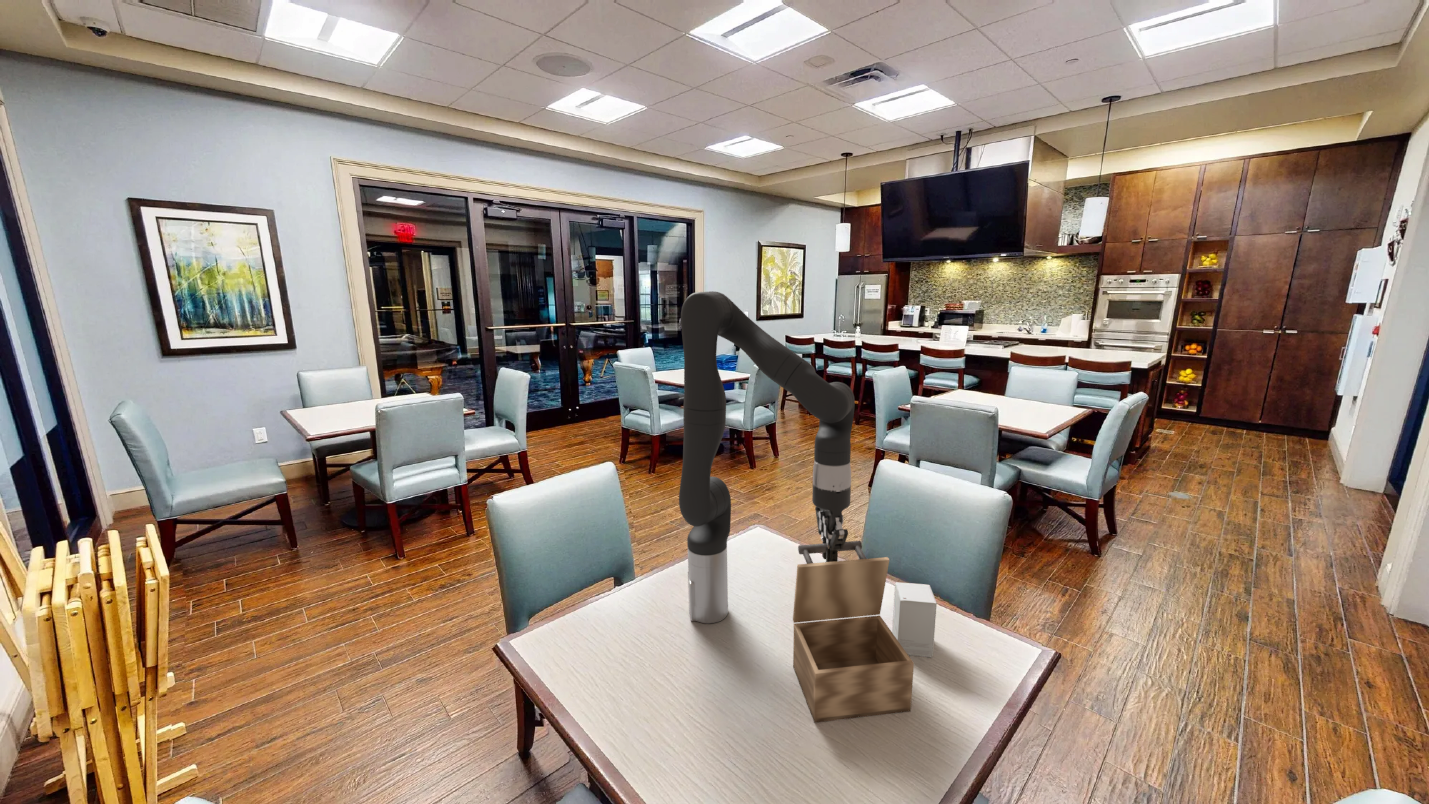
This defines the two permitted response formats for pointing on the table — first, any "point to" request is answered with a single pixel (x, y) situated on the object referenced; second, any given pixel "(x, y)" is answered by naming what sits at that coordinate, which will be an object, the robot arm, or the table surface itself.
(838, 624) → the wooden box
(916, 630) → the supplement box
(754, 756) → the table surface
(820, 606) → the wooden box lid
